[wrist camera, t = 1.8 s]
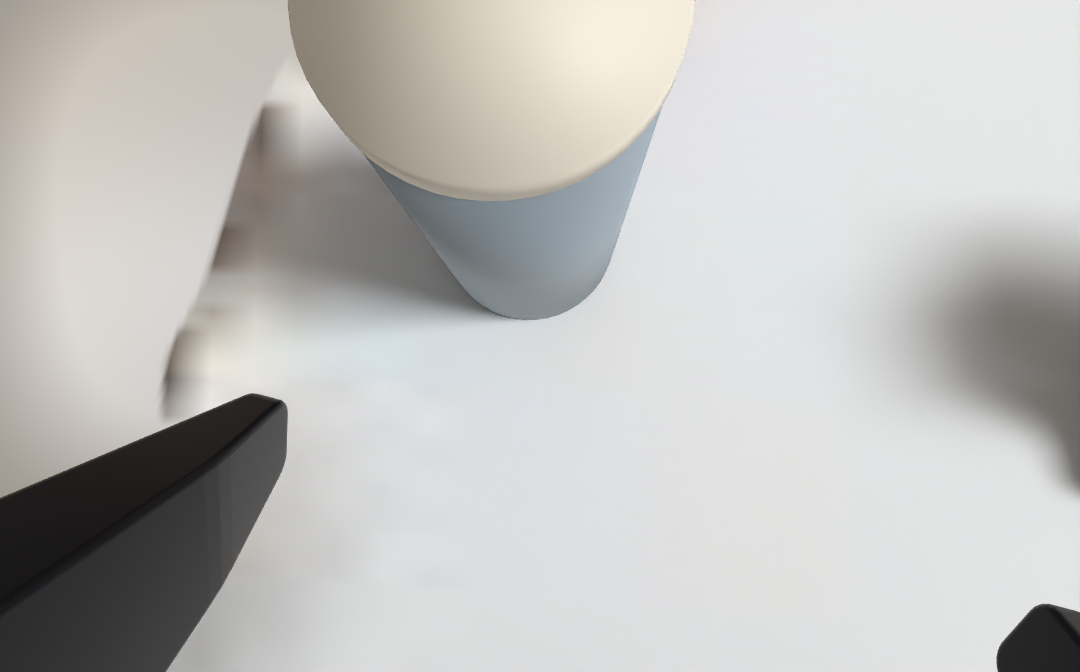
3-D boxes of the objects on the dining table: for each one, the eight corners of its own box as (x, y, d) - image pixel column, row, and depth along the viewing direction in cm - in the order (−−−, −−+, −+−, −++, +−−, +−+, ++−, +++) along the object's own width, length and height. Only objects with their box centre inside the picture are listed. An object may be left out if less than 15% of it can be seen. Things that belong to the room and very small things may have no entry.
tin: (476, 345, 20) (359, 244, 8) (421, 187, 21) (238, -121, 9) (639, 287, 20) (757, 103, 8) (580, 131, 21) (611, -248, 9)
